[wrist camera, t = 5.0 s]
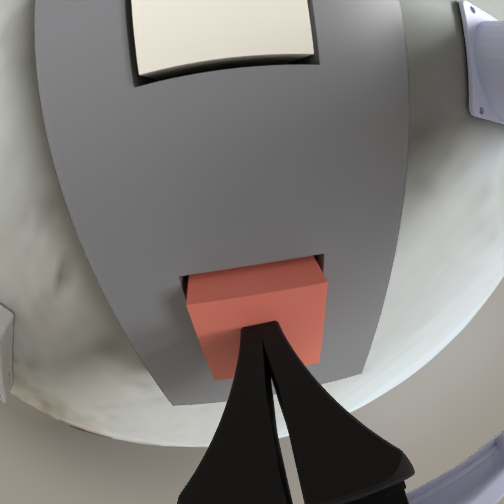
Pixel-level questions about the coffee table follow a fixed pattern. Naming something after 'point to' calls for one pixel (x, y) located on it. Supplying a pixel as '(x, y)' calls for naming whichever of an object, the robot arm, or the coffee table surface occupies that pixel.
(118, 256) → the console
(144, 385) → the coffee table surface
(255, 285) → the red plug
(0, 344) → the handheld gaming device
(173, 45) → the plug
